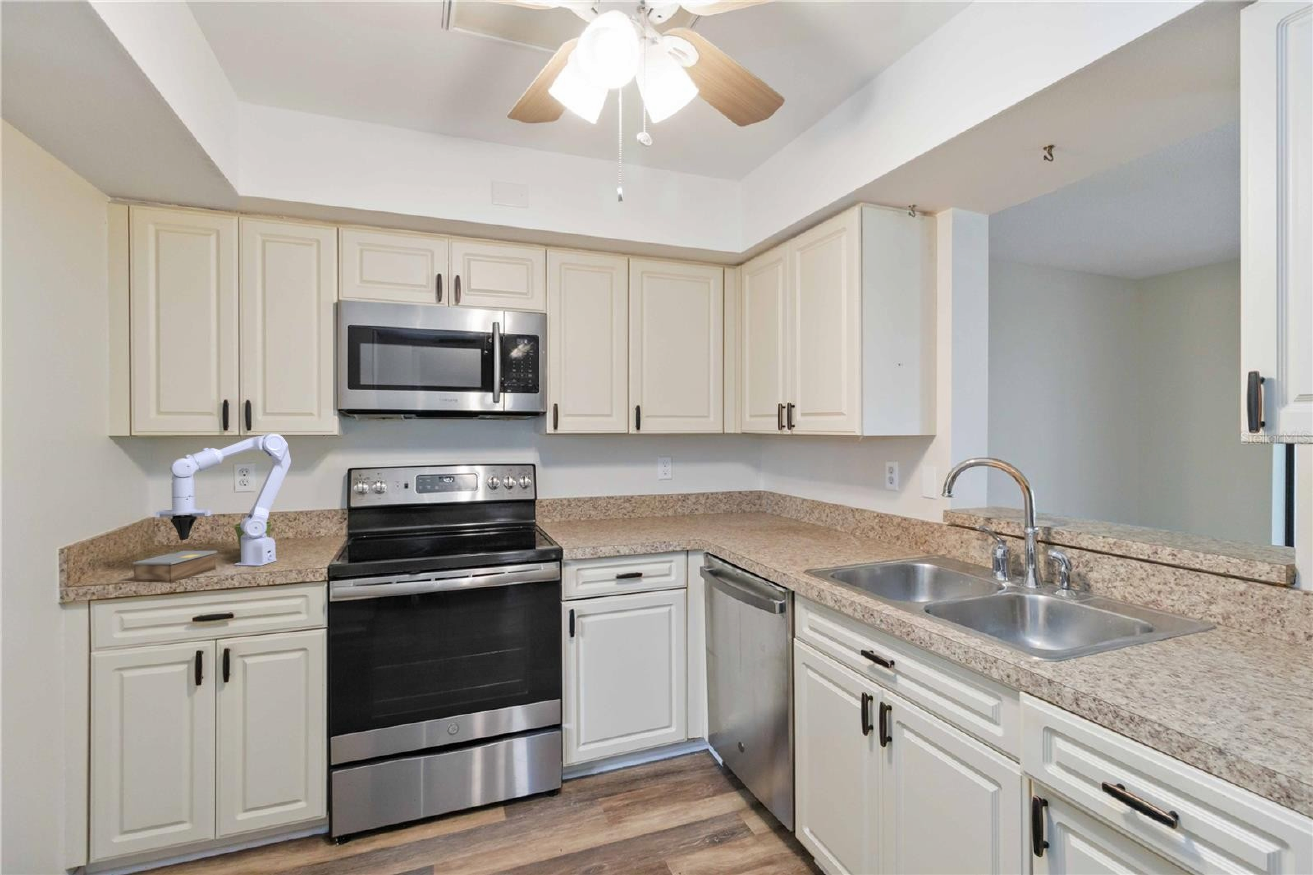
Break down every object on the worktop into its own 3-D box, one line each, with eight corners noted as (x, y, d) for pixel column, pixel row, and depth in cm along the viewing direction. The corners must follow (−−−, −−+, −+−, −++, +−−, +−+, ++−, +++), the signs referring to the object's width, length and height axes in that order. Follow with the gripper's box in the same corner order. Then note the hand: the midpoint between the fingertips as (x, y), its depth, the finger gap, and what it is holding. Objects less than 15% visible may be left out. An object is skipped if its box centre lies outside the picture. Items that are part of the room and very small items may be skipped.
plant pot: (276, 555, 215) (276, 523, 214) (236, 560, 206) (236, 527, 206) (269, 549, 223) (268, 519, 223) (230, 554, 215) (229, 523, 215)
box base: (215, 569, 193) (215, 553, 193) (171, 582, 178) (170, 565, 177) (181, 568, 195) (181, 553, 194) (134, 581, 179) (133, 564, 179)
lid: (217, 552, 194) (216, 550, 194) (171, 564, 177) (171, 562, 177) (181, 552, 195) (181, 550, 195) (133, 564, 178) (133, 562, 178)
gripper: (215, 494, 194) (216, 536, 195) (164, 495, 192) (165, 537, 192) (204, 497, 188) (204, 540, 188) (150, 498, 185) (151, 542, 185)
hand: (184, 539), depth 189 cm, fingers closed
